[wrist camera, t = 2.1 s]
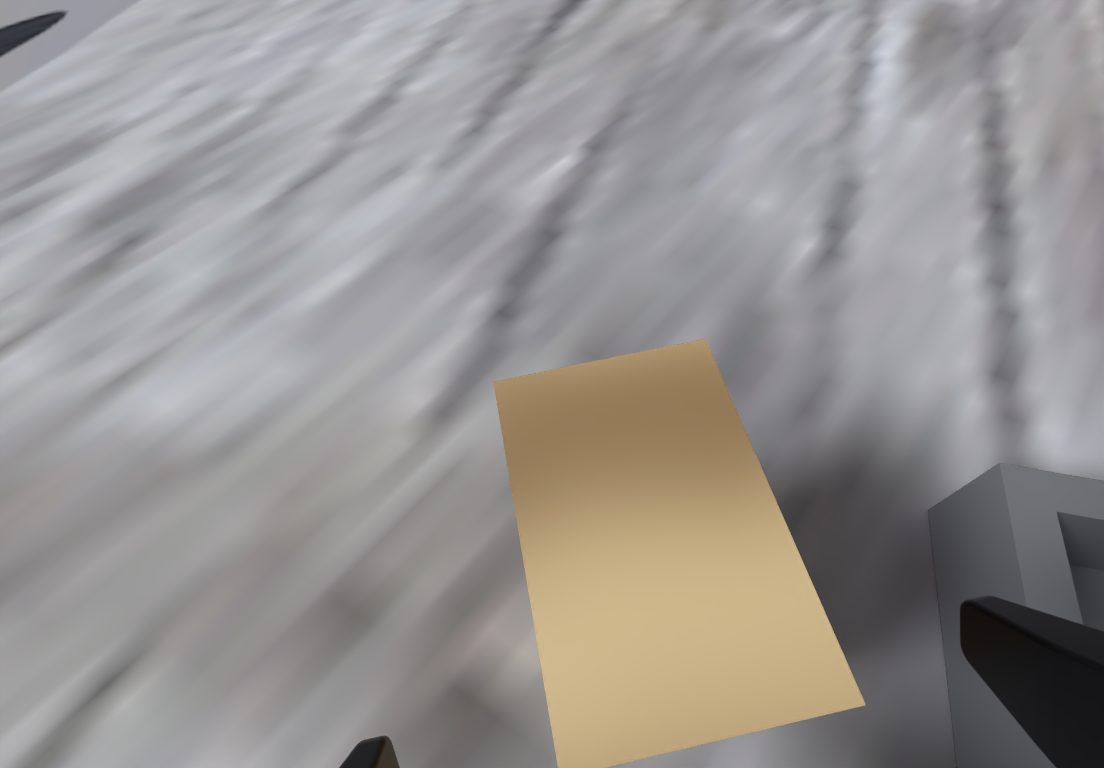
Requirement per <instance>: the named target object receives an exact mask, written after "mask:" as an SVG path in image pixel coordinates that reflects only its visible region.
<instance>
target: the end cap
mask: <svg viewBox="0 0 1104 768" xmlns="http://www.w3.org/2000/svg"><path fill="white" fill-rule="evenodd" d="M928 514H929V523H930V532H931V540H932V549H933V558H934V567H935V576H936V585H937V594H938V603H939V612H940V620H941V629H942V638H943V647H944V656H945V665H946V674H947V683H948V692H949V700H950V709H951V718H952V727H953V736H954V745H955V754H956V763H957V768H1056V767H1055V766H1054V765H1053V764H1052V763H1051V762H1050V761H1049V759H1048V758H1047V757H1046V756H1045V755H1044V754H1043V752H1042V751H1041V750H1040V749H1039V748H1038V747H1037V745H1036V744H1035V743H1034V742H1033V741H1032V740H1031V738H1030V737H1029V736H1028V735H1027V733H1026V732H1025V731H1024V730H1023V729H1022V727H1021V726H1020V725H1019V724H1018V722H1017V721H1016V720H1015V719H1014V718H1013V716H1012V715H1011V714H1010V713H1009V712H1008V710H1007V709H1006V708H1005V707H1004V705H1003V704H1002V703H1001V702H1000V701H999V699H998V698H997V697H996V696H995V694H994V693H993V692H992V691H991V690H990V688H989V687H988V686H987V685H986V683H985V682H984V681H983V680H982V679H981V677H980V676H979V675H978V674H977V673H976V671H975V670H974V669H973V668H972V666H971V665H970V664H969V663H968V661H967V660H966V658H965V656H964V654H963V652H962V649H961V646H960V605H961V603H962V602H963V601H964V600H967V599H971V598H975V597H980V596H984V595H990V596H995V597H998V598H1001V599H1004V600H1007V601H1010V602H1014V603H1017V604H1020V605H1023V606H1026V607H1029V608H1032V609H1036V610H1039V611H1042V612H1045V613H1048V614H1051V615H1054V616H1058V617H1061V618H1064V619H1067V620H1070V621H1073V622H1076V623H1080V624H1083V625H1086V626H1089V627H1092V628H1095V629H1098V630H1102V631H1104V481H1101V480H1095V479H1089V478H1084V477H1078V476H1072V475H1066V474H1060V473H1055V472H1049V471H1043V470H1037V469H1032V468H1026V467H1020V466H1014V465H1008V464H1003V463H999V464H997V465H996V466H994V467H993V468H991V469H990V470H988V471H987V472H985V473H984V474H982V475H981V476H979V477H978V478H976V479H974V480H973V481H971V482H970V483H968V484H967V485H965V486H964V487H962V488H961V489H959V490H958V491H956V492H955V493H953V494H952V495H950V496H949V497H947V498H946V499H944V500H943V501H941V502H940V503H938V504H936V505H935V506H933V507H932V508H930V509H929V510H928Z"/></svg>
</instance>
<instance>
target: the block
mask: <svg viewBox="0 0 1104 768" xmlns="http://www.w3.org/2000/svg"><path fill="white" fill-rule="evenodd" d="M494 388H495V394H496V400H497V406H498V412H499V418H500V424H501V430H502V436H503V442H504V448H505V454H506V460H507V465H508V471H509V477H510V483H511V489H512V495H513V501H514V507H515V513H516V519H517V525H518V531H519V537H520V543H521V549H522V555H523V561H524V567H525V573H526V579H527V585H528V591H529V597H530V603H531V609H532V615H533V621H534V627H535V633H536V638H537V644H538V650H539V656H540V662H541V668H542V674H543V680H544V686H545V692H546V698H547V704H548V710H549V716H550V722H551V728H552V734H553V740H554V746H555V752H556V758H557V764H558V768H606V767H610V766H614V765H618V764H623V763H627V762H631V761H635V760H639V759H643V758H648V757H652V756H656V755H660V754H664V753H668V752H673V751H677V750H681V749H685V748H689V747H693V746H698V745H702V744H706V743H710V742H714V741H719V740H723V739H727V738H731V737H735V736H739V735H744V734H748V733H752V732H756V731H760V730H764V729H769V728H773V727H777V726H781V725H785V724H789V723H794V722H798V721H802V720H806V719H810V718H815V717H819V716H823V715H827V714H831V713H835V712H840V711H844V710H848V709H852V708H856V707H860V706H865V705H866V704H865V702H864V700H863V697H862V695H861V693H860V691H859V688H858V686H857V684H856V681H855V679H854V677H853V675H852V672H851V670H850V668H849V666H848V663H847V661H846V659H845V656H844V654H843V652H842V650H841V647H840V645H839V643H838V640H837V638H836V636H835V634H834V631H833V629H832V627H831V624H830V622H829V620H828V618H827V615H826V613H825V611H824V609H823V606H822V604H821V602H820V599H819V597H818V595H817V593H816V590H815V588H814V586H813V583H812V581H811V579H810V577H809V574H808V572H807V570H806V567H805V565H804V563H803V561H802V558H801V556H800V554H799V552H798V549H797V547H796V545H795V542H794V540H793V538H792V536H791V533H790V531H789V529H788V526H787V524H786V522H785V520H784V517H783V515H782V513H781V511H780V508H779V506H778V504H777V501H776V499H775V497H774V495H773V492H772V490H771V488H770V485H769V483H768V481H767V479H766V476H765V474H764V472H763V469H762V467H761V465H760V463H759V460H758V458H757V456H756V454H755V451H754V449H753V447H752V444H751V442H750V440H749V438H748V435H747V433H746V431H745V428H744V426H743V424H742V422H741V419H740V417H739V415H738V412H737V410H736V408H735V406H734V403H733V401H732V399H731V397H730V394H729V392H728V390H727V387H726V385H725V383H724V381H723V378H722V376H721V374H720V371H719V369H718V367H717V365H716V362H715V360H714V358H713V355H712V353H711V351H710V349H709V346H708V344H707V342H706V340H705V339H702V340H697V341H692V342H687V343H682V344H677V345H672V346H667V347H662V348H657V349H653V350H648V351H643V352H638V353H633V354H628V355H623V356H618V357H613V358H608V359H603V360H598V361H593V362H588V363H583V364H578V365H573V366H569V367H564V368H559V369H554V370H549V371H544V372H539V373H534V374H529V375H524V376H519V377H514V378H509V379H504V380H499V381H494Z"/></svg>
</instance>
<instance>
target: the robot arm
mask: <svg viewBox="0 0 1104 768" xmlns="http://www.w3.org/2000/svg"><path fill="white" fill-rule="evenodd" d="M960 646H961V649H962V652H963V654H964V656H965V658H966V660H967V661H968V663H969V664H970V665H971V666H972V668H973V669H974V670H975V671H976V673H977V674H978V675H979V676H980V677H981V679H982V680H983V681H984V682H985V683H986V685H987V686H988V687H989V688H990V690H991V691H992V692H993V693H994V694H995V696H996V697H997V698H998V699H999V701H1000V702H1001V703H1002V704H1003V705H1004V707H1005V708H1006V709H1007V710H1008V712H1009V713H1010V714H1011V715H1012V716H1013V718H1014V719H1015V720H1016V721H1017V722H1018V724H1019V725H1020V726H1021V727H1022V729H1023V730H1024V731H1025V732H1026V733H1027V735H1028V736H1029V737H1030V738H1031V740H1032V741H1033V742H1034V743H1035V744H1036V745H1037V747H1038V748H1039V749H1040V750H1041V751H1042V752H1043V754H1044V755H1045V756H1046V757H1047V758H1048V759H1049V761H1050V762H1051V763H1052V764H1053V765H1054V766H1055V767H1056V768H1104V631H1102V630H1098V629H1095V628H1092V627H1089V626H1086V625H1083V624H1080V623H1076V622H1073V621H1070V620H1067V619H1064V618H1061V617H1058V616H1054V615H1051V614H1048V613H1045V612H1042V611H1039V610H1036V609H1032V608H1029V607H1026V606H1023V605H1020V604H1017V603H1014V602H1010V601H1007V600H1004V599H1001V598H998V597H995V596H990V595H984V596H980V597H975V598H971V599H967V600H964V601H963V602H962V603H961V605H960ZM339 768H400V767H399V764H398V761H397V758H396V755H395V751H394V748H393V745H392V742H391V740H390V739H389V737H387V736H379V737H375V738H371V739H366V740H363V741H361V742H360V743H358V744H357V745H356V747H355V748H354V749H353V750H352V752H351V753H350V754H349V756H348V757H347V758H346V760H345V761H344V762H343V763H342V765H341V766H340V767H339Z"/></svg>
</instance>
